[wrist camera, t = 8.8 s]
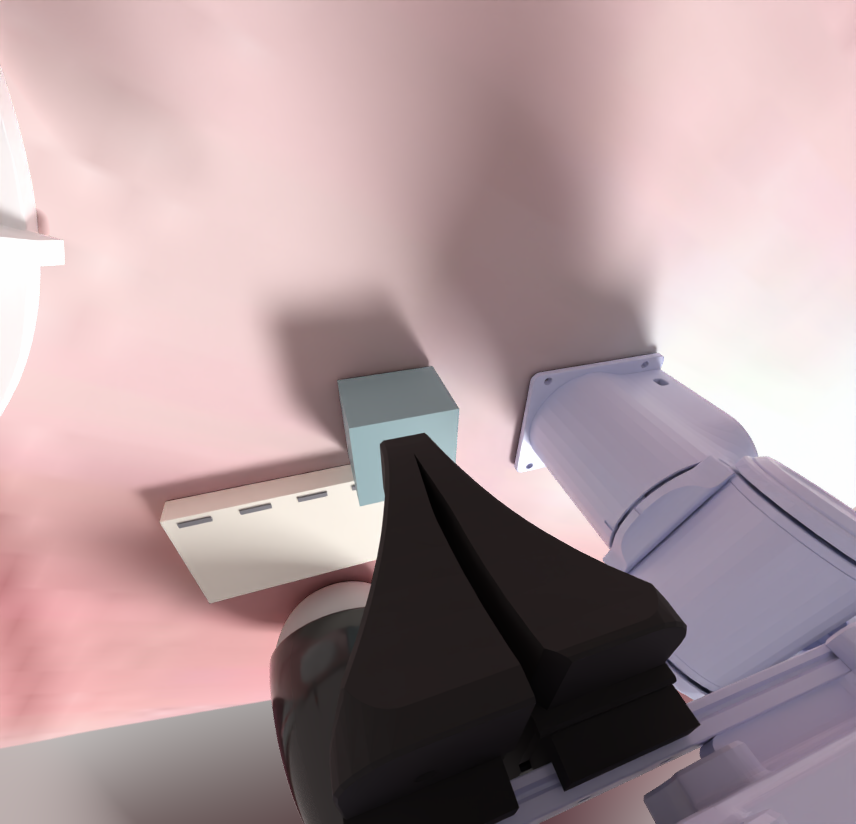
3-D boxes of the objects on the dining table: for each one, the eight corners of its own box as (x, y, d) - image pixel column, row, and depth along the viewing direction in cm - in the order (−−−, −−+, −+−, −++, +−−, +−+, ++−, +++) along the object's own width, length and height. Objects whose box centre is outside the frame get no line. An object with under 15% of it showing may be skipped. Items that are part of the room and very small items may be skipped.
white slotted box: (432, 447, 25) (440, 463, 24) (430, 528, 30) (437, 544, 29) (165, 501, 21) (159, 523, 20) (212, 583, 26) (209, 605, 25)
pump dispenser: (242, 595, 28) (221, 941, 16) (386, 543, 29) (460, 827, 18) (295, 651, 34) (307, 928, 23) (411, 606, 36) (477, 845, 24)
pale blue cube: (432, 366, 21) (459, 408, 18) (431, 438, 24) (454, 484, 21) (337, 380, 20) (348, 428, 17) (348, 454, 23) (359, 506, 20)
